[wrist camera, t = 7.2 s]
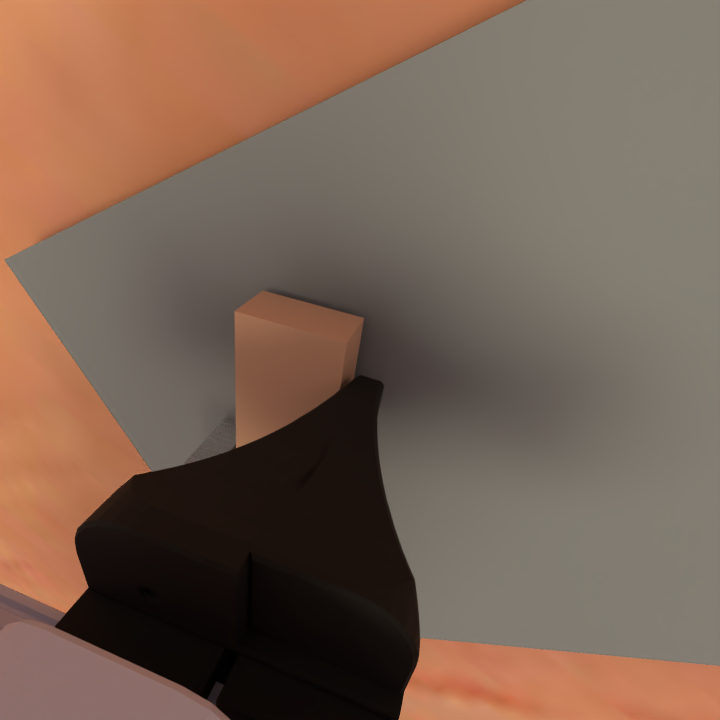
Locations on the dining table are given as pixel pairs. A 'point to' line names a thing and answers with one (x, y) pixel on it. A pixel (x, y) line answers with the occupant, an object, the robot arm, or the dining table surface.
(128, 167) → the dining table surface
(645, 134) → the board
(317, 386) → the link
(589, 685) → the dining table surface
